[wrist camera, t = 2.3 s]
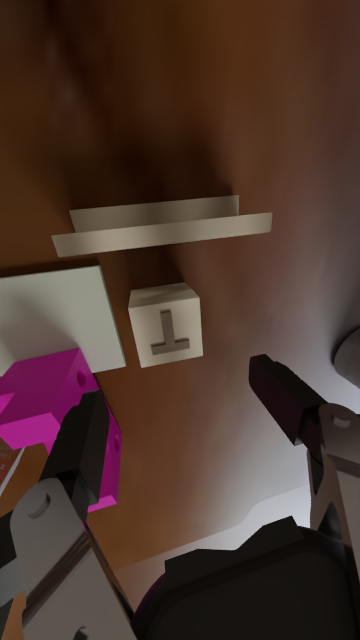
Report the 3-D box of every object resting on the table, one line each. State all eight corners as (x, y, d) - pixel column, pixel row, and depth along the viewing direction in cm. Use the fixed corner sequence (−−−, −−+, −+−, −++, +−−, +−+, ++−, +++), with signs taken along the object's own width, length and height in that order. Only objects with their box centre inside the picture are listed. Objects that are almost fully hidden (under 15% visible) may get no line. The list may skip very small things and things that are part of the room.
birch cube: (184, 282, 20) (199, 298, 15) (188, 328, 22) (203, 356, 17) (131, 289, 19) (127, 309, 14) (141, 337, 22) (141, 369, 17)
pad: (100, 264, 18) (98, 266, 17) (126, 362, 22) (125, 366, 22) (-47, 283, 16) (-56, 286, 16) (13, 384, 21) (8, 389, 20)
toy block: (13, 362, 19) (-52, 438, 12) (79, 347, 20) (50, 412, 13) (75, 446, 26) (55, 522, 20) (121, 433, 27) (117, 503, 20)
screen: (233, 197, 18) (275, 180, 12) (233, 232, 19) (270, 231, 14) (73, 211, 16) (38, 199, 10) (84, 250, 17) (58, 257, 12)
